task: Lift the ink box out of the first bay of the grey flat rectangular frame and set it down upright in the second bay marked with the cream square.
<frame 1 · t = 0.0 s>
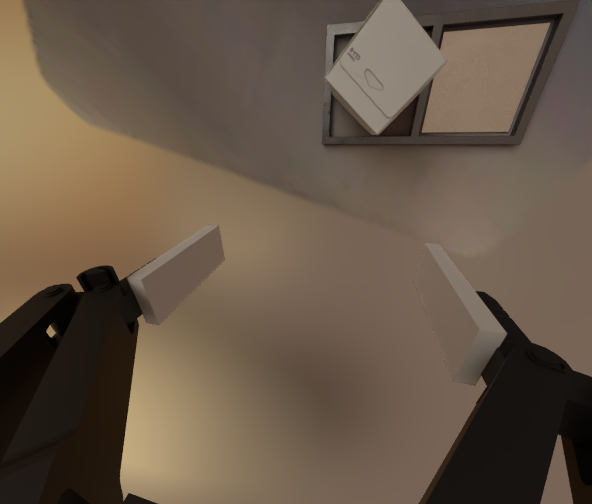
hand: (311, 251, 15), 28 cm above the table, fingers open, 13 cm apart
ink box: (373, 89, 32), resting in grey flat rectangular frame
grey flat rectangular frame: (423, 87, 31), on the table
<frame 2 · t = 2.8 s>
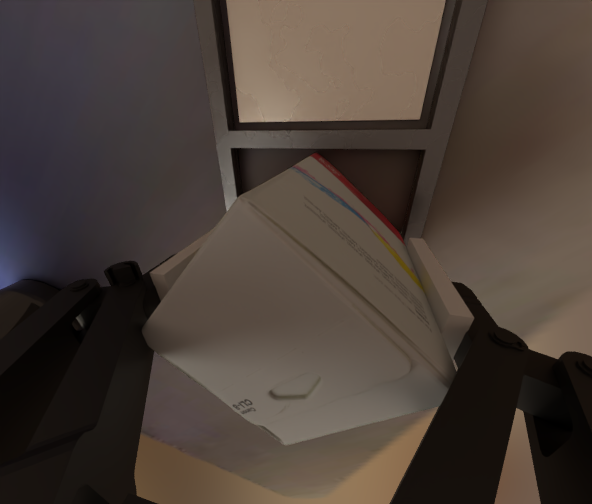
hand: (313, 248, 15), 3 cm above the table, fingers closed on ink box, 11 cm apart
ink box: (318, 231, 18), resting in grey flat rectangular frame, touching gripper
grey flat rectangular frame: (322, 139, 14), on the table
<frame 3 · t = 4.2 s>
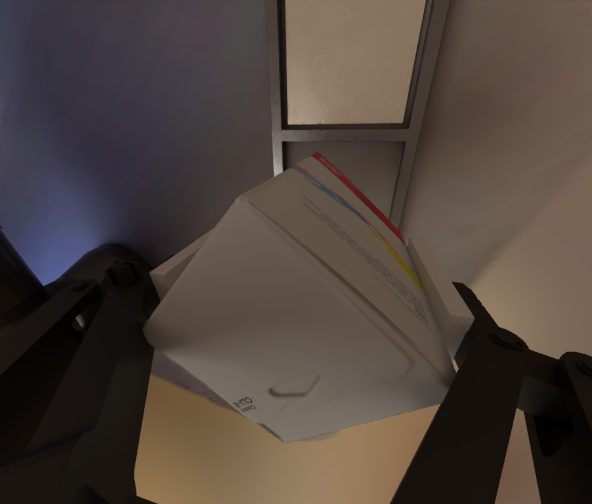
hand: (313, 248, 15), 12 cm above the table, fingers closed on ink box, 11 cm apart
ink box: (319, 230, 18), point 9 cm above the table, touching gripper
grey flat rectangular frame: (341, 135, 23), on the table
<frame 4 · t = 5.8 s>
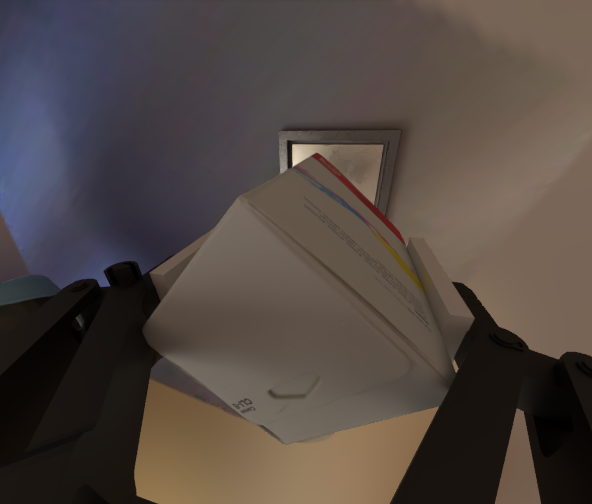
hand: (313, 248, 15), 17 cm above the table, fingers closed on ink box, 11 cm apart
ink box: (319, 231, 18), point 14 cm above the table, touching gripper
grey flat rectangular frame: (329, 234, 33), on the table
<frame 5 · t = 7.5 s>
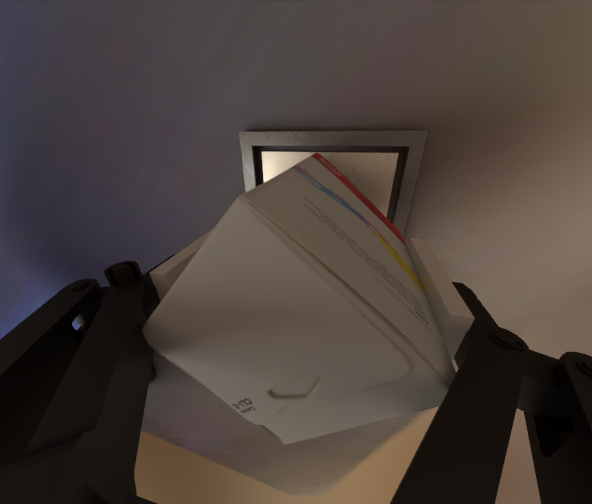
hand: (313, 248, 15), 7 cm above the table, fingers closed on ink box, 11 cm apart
ink box: (319, 231, 18), point 4 cm above the table, touching gripper
grey flat rectangular frame: (319, 274, 24), on the table
when the fingers open (4 cm above the table, at t = 8.7 s): ink box drops 1 cm, resting on grey flat rectangular frame.
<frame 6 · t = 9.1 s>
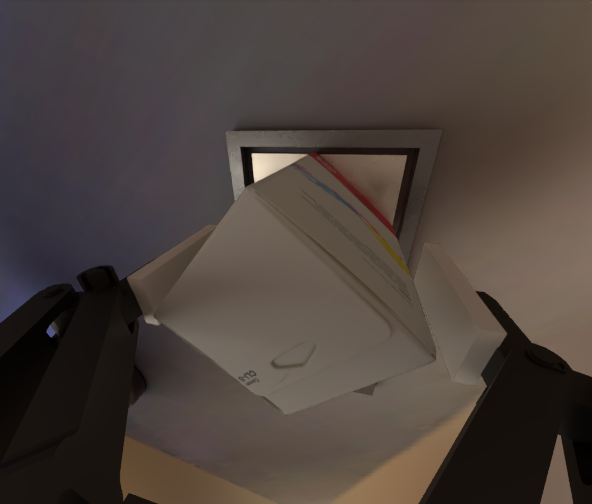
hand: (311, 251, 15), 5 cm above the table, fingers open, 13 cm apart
ink box: (317, 225, 19), resting on grey flat rectangular frame
grey flat rectangular frame: (317, 288, 22), on the table
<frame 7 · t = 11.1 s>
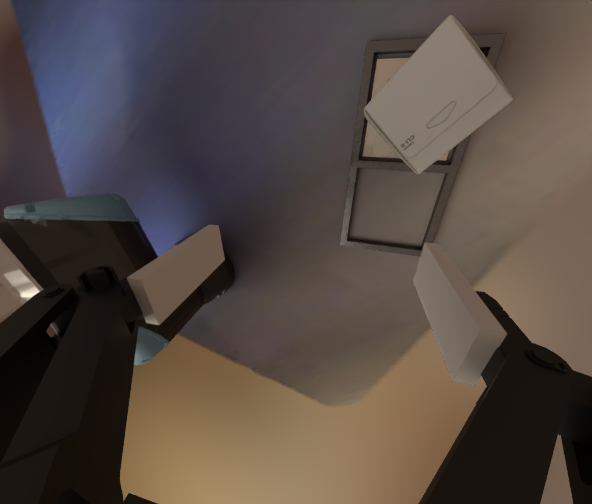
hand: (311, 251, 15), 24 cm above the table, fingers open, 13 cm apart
ink box: (410, 112, 29), resting on grey flat rectangular frame
grey flat rectangular frame: (400, 165, 32), on the table
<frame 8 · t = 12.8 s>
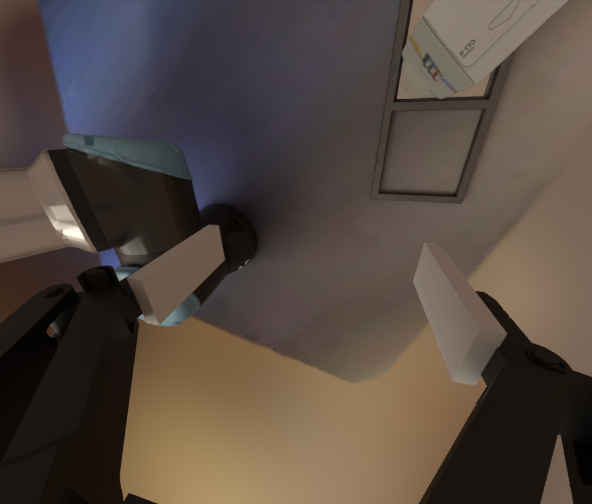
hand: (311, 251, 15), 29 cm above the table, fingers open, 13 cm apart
ink box: (447, 46, 29), resting on grey flat rectangular frame
grey flat rectangular frame: (436, 106, 32), on the table
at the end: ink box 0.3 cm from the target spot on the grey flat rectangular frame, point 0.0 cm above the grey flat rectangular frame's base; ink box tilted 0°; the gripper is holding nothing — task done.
